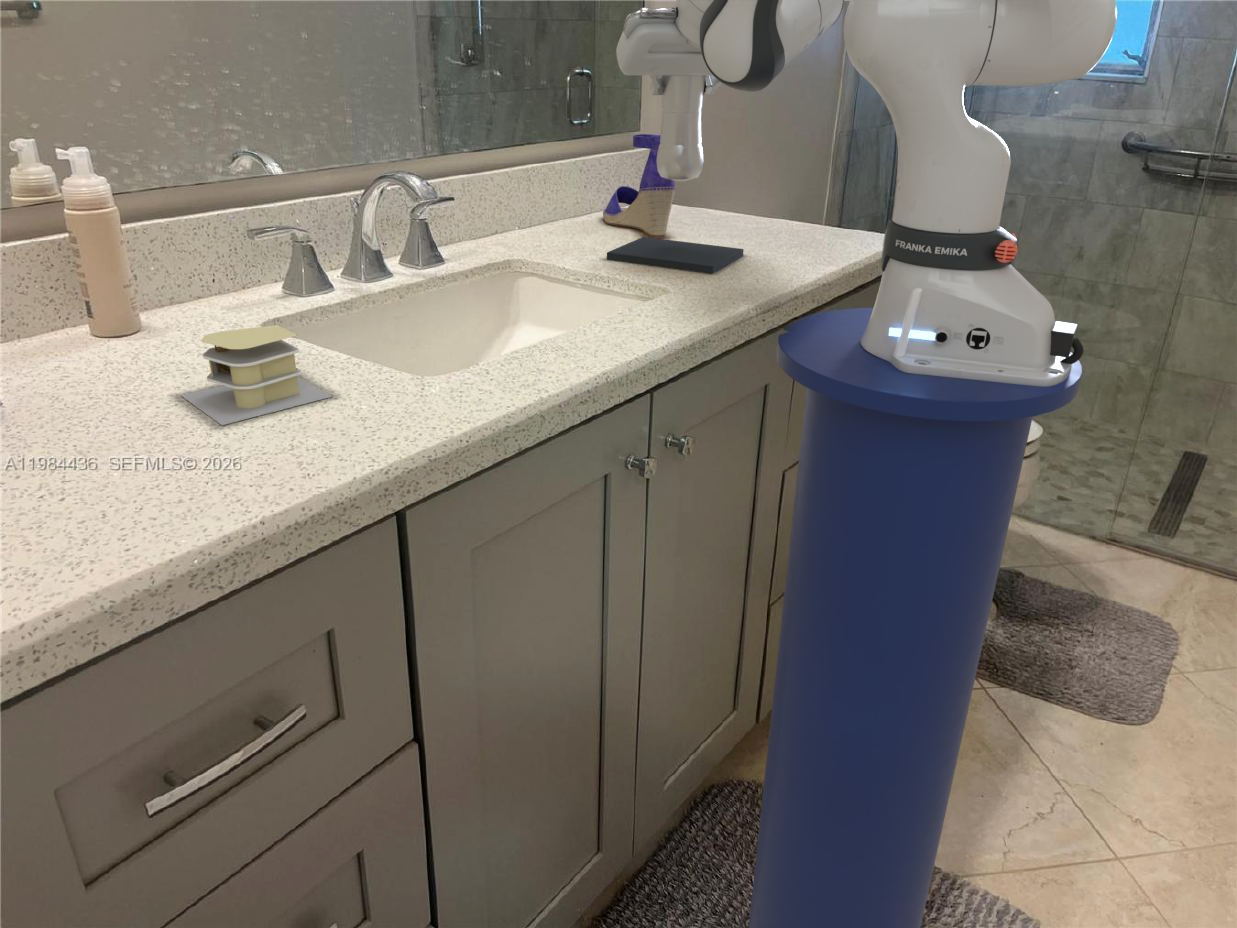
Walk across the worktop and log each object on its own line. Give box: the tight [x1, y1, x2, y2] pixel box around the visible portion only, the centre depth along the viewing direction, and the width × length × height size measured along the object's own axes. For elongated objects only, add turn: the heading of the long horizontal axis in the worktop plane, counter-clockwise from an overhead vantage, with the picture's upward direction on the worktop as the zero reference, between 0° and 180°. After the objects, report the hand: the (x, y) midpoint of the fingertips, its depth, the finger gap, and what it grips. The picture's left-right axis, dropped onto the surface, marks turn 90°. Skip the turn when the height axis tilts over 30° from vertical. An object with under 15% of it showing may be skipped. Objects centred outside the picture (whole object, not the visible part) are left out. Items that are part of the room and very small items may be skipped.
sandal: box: [602, 133, 676, 239], centre depth 151 cm, size 8×20×15 cm, turn 15°
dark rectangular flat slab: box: [606, 236, 745, 274], centre depth 135 cm, size 16×12×1 cm
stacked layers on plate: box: [180, 324, 334, 426], centre depth 83 cm, size 10×9×6 cm
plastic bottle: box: [656, 75, 707, 183], centre depth 127 cm, size 6×7×20 cm
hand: (681, 91), depth 127 cm, fingers closed on plastic bottle, 6 cm apart
